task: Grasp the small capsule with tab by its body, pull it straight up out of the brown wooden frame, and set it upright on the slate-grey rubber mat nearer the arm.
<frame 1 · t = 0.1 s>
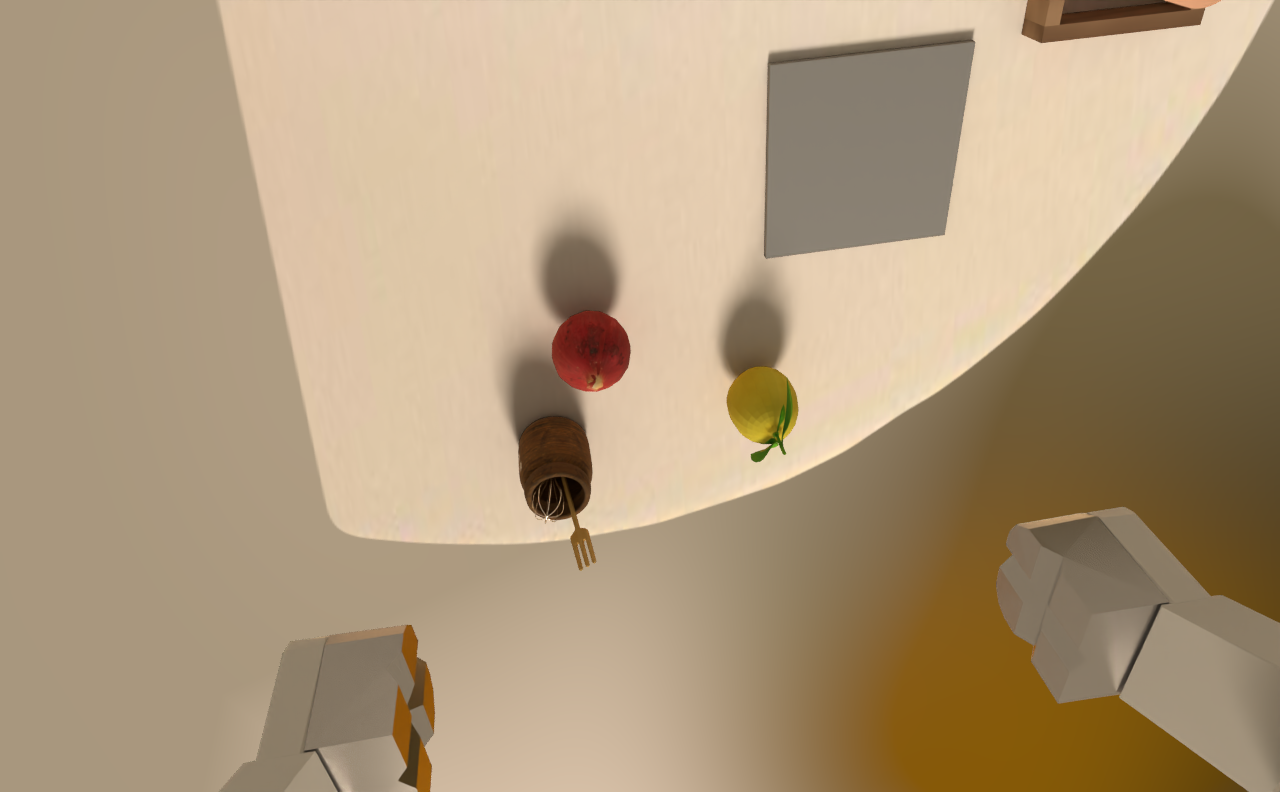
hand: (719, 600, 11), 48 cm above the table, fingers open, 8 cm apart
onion: (586, 324, 64), on the table
lemon: (749, 374, 69), on the table
utensil holder: (553, 441, 70), on the table
mat: (861, 154, 59), on the table
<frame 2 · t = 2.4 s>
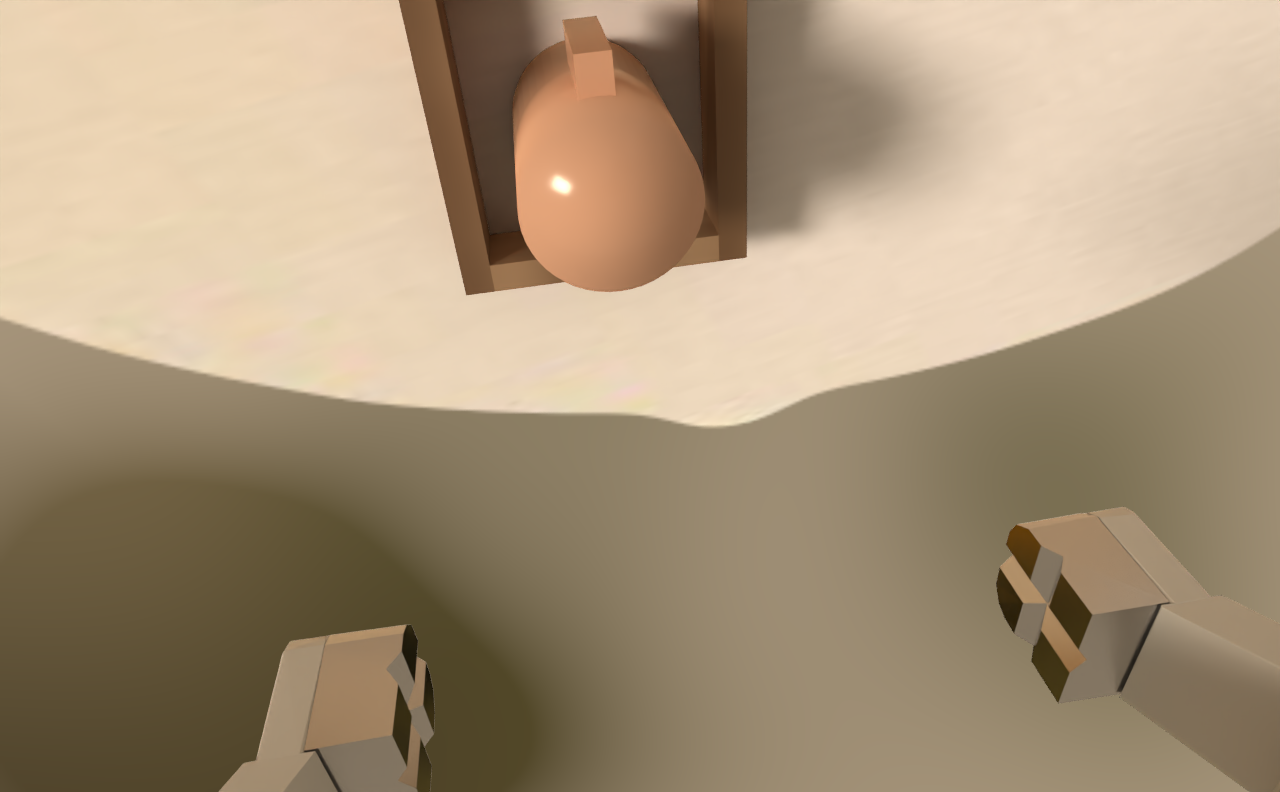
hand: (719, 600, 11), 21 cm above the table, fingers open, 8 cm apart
capsule with tab: (585, 114, 28), resting in brown wooden frame
brown wooden frame: (584, 97, 28), on the table
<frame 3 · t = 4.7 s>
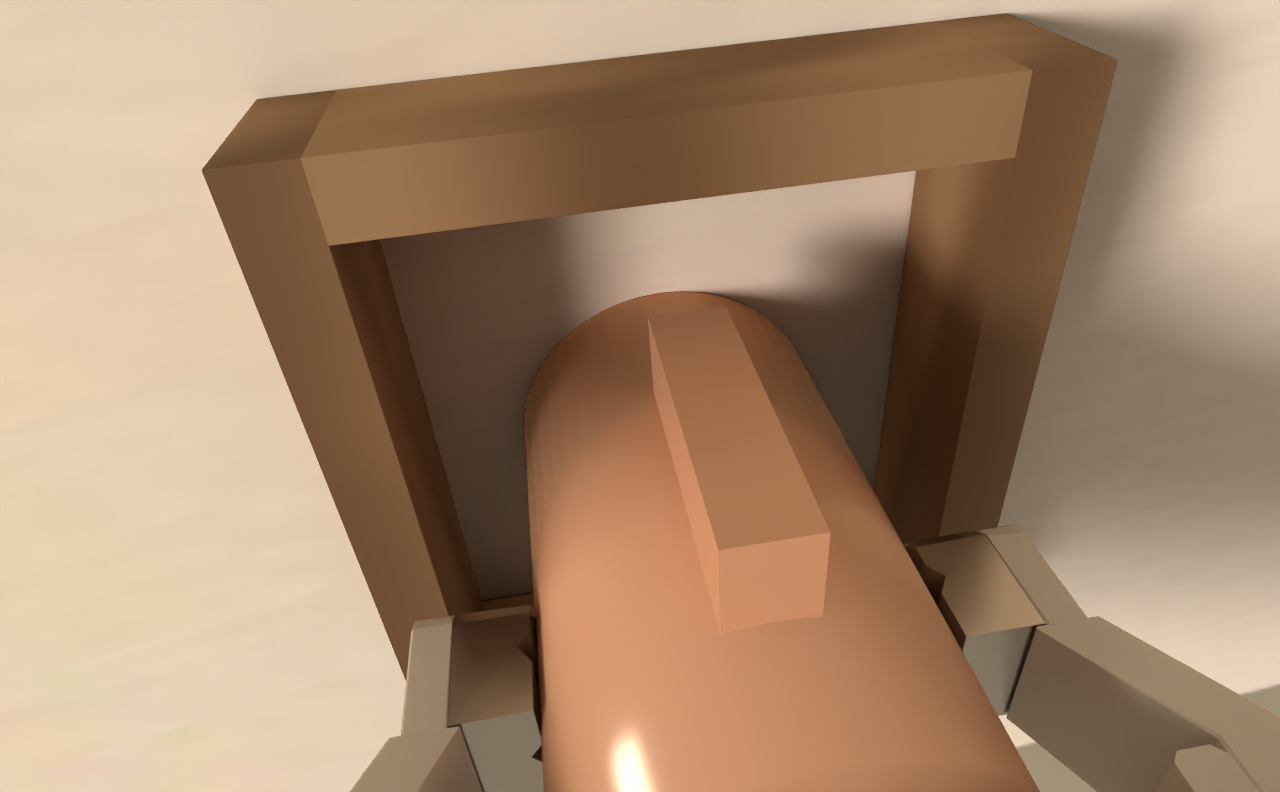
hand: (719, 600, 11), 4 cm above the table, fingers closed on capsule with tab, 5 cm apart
capsule with tab: (668, 418, 15), resting in brown wooden frame, touching gripper
brown wooden frame: (666, 391, 14), on the table
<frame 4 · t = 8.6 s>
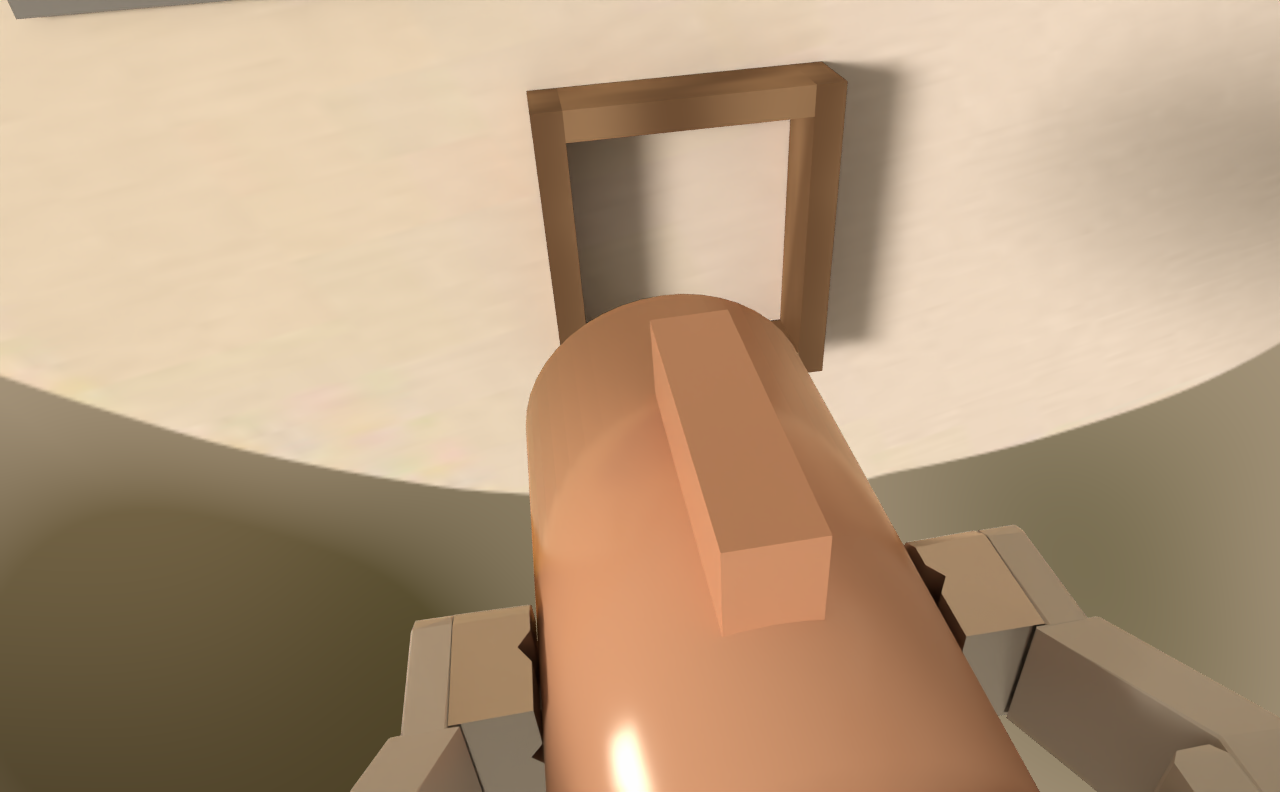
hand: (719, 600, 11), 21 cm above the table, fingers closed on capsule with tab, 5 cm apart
capsule with tab: (669, 419, 15), point 17 cm above the table, touching gripper
brown wooden frame: (680, 229, 31), on the table
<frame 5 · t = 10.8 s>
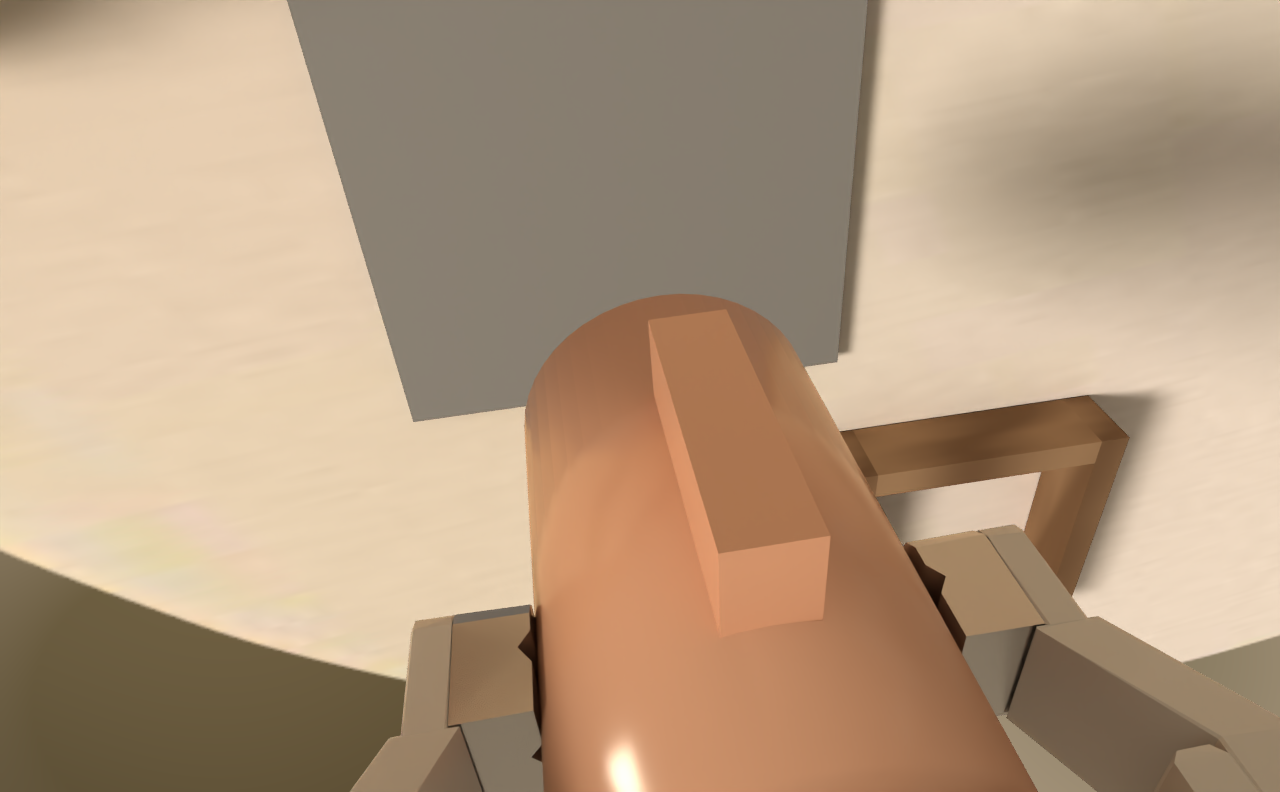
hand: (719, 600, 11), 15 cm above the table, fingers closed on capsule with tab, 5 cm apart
capsule with tab: (667, 419, 15), point 11 cm above the table, touching gripper
brown wooden frame: (937, 521, 34), on the table
mat: (607, 180, 23), on the table
when the fingers open (6 cm above the table, at t = 12.8 s): capsule with tab drops 1 cm, resting on mat.
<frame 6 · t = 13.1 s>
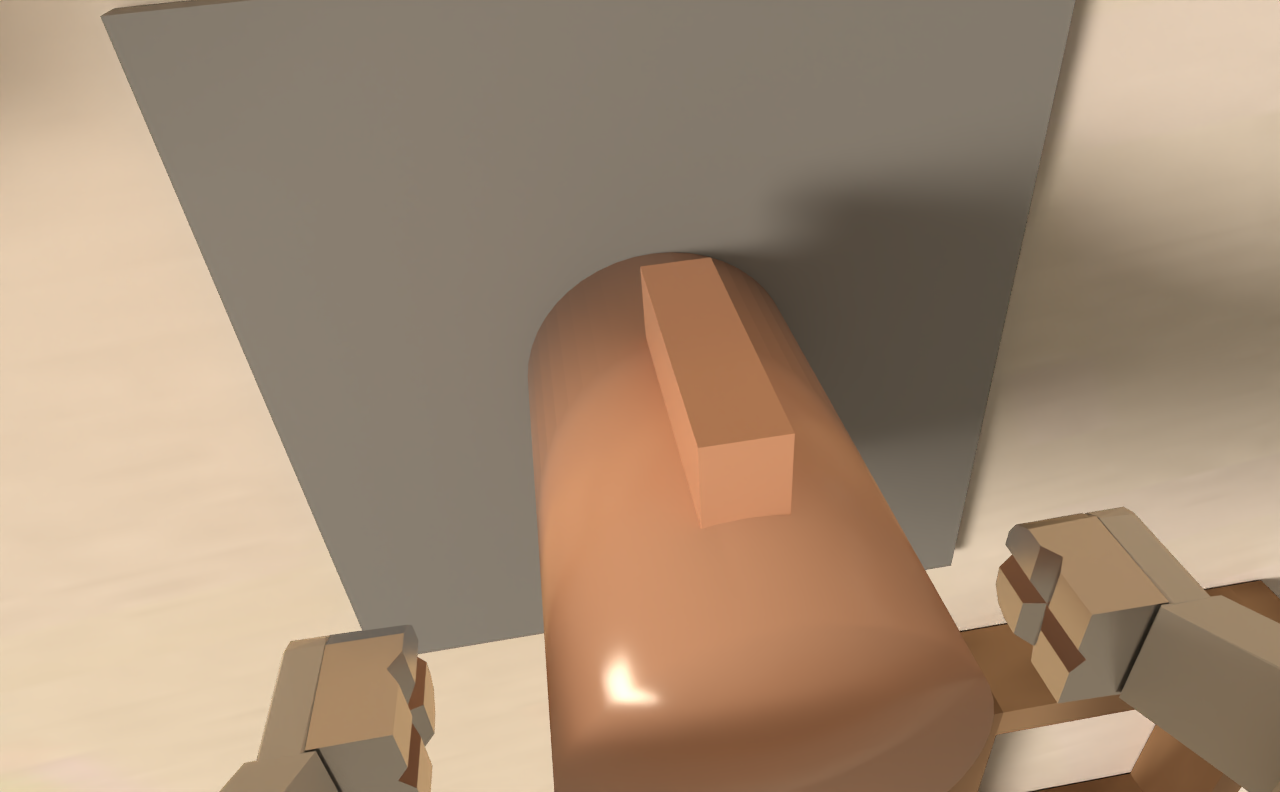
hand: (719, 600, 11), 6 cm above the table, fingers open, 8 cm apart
capsule with tab: (660, 372, 16), point 1 cm above the table, touching mat
brown wooden frame: (1051, 720, 26), on the table
mat: (648, 358, 16), on the table
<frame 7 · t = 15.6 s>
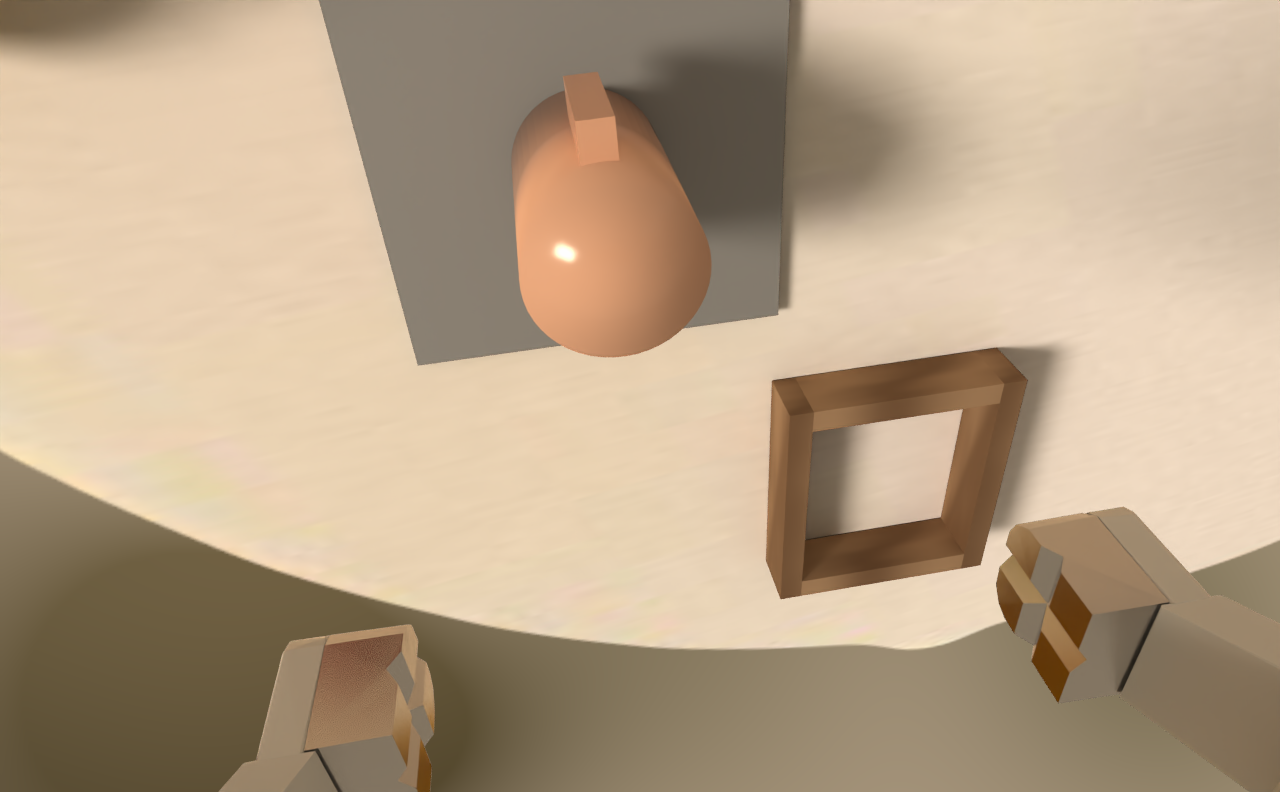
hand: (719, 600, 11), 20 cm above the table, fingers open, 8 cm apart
capsule with tab: (586, 163, 28), point 1 cm above the table, touching mat
brown wooden frame: (873, 461, 39), on the table
mat: (580, 158, 28), on the table
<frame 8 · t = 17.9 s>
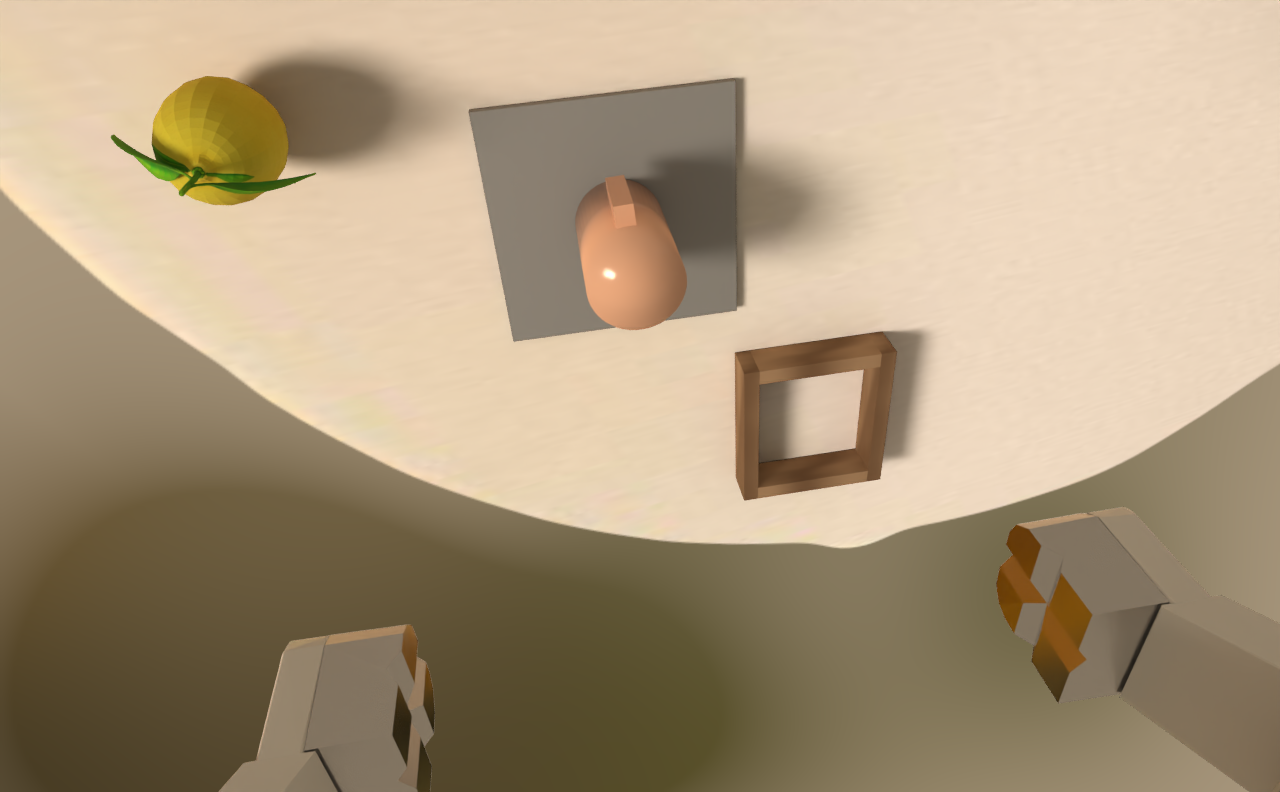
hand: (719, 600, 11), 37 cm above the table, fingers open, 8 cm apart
lemon: (246, 114, 42), on the table
capsule with tab: (619, 221, 47), point 1 cm above the table, touching mat
brown wooden frame: (805, 408, 58), on the table
mat: (614, 217, 48), on the table
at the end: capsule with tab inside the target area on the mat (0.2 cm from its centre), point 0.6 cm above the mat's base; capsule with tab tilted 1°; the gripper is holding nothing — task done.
